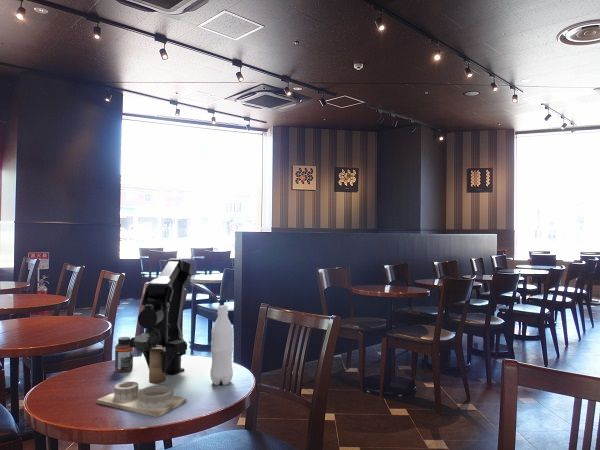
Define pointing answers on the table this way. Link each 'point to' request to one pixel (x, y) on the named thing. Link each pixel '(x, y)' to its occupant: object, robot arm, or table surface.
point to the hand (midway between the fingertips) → (157, 371)
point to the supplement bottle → (123, 355)
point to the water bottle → (222, 348)
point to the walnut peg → (156, 366)
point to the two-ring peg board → (142, 399)
